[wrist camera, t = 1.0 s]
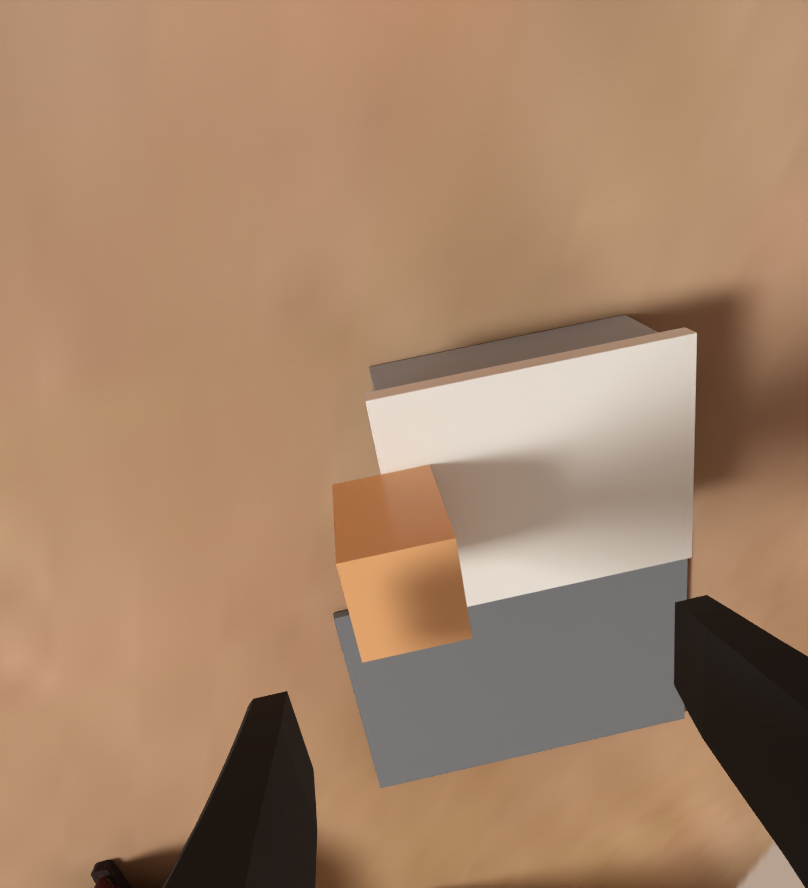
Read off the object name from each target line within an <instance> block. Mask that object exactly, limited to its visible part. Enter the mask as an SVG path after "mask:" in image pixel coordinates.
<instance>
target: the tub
mask: <svg viewBox="0 0 808 888" xmlns="http://www.w3.org/2000/svg"><path fill="white" fill-rule="evenodd" d="M654 333H659V332H657V331H655V330H653V329H651V328H649V327H647V326H645V325H644V324H642V323H640V322H638V321H636V320H634V319H632V318H630V317H628V316H626V315H621V316H616V317H611V318H606V319H602V320H597V321H592V322H587V323H582V324H577V325H572V326H567V327H562V328H557V329H553V330H548V331H543V332H538V333H533V334H528V335H523V336H518V337H513V338H508V339H504V340H499V341H494V342H489V343H484V344H479V345H474V346H469V347H464V348H459V349H455V350H450V351H445V352H440V353H435V354H430V355H425V356H420V357H415V358H410V359H406V360H401V361H396V362H391V363H386V364H381V365H376V366H371V367H369V369H370V374H371V379H372V384H373V389H374V391H377V390H382V389H387V388H392V387H396V386H401V385H406V384H411V383H416V382H421V381H426V380H430V379H435V378H440V377H445V376H450V375H455V374H460V373H464V372H469V371H474V370H479V369H484V368H489V367H494V366H498V365H503V364H508V363H513V362H518V361H523V360H528V359H533V358H537V357H542V356H547V355H552V354H557V353H562V352H567V351H571V350H576V349H581V348H586V347H591V346H596V345H601V344H605V343H610V342H615V341H620V340H625V339H630V338H635V337H639V336H644V335H649V334H654Z"/></svg>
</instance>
